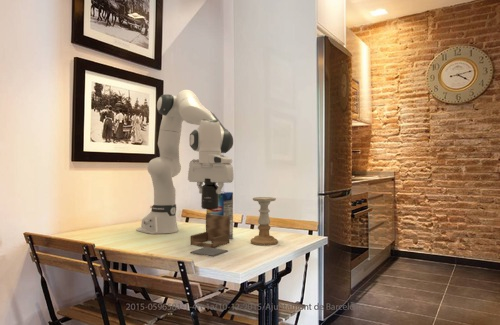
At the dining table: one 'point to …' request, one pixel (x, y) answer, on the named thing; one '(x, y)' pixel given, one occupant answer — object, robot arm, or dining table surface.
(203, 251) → the slate mat
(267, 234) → the candle holder
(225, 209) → the beverage box
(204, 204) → the supplement bottle
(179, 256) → the dining table surface
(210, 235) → the walnut cubby
